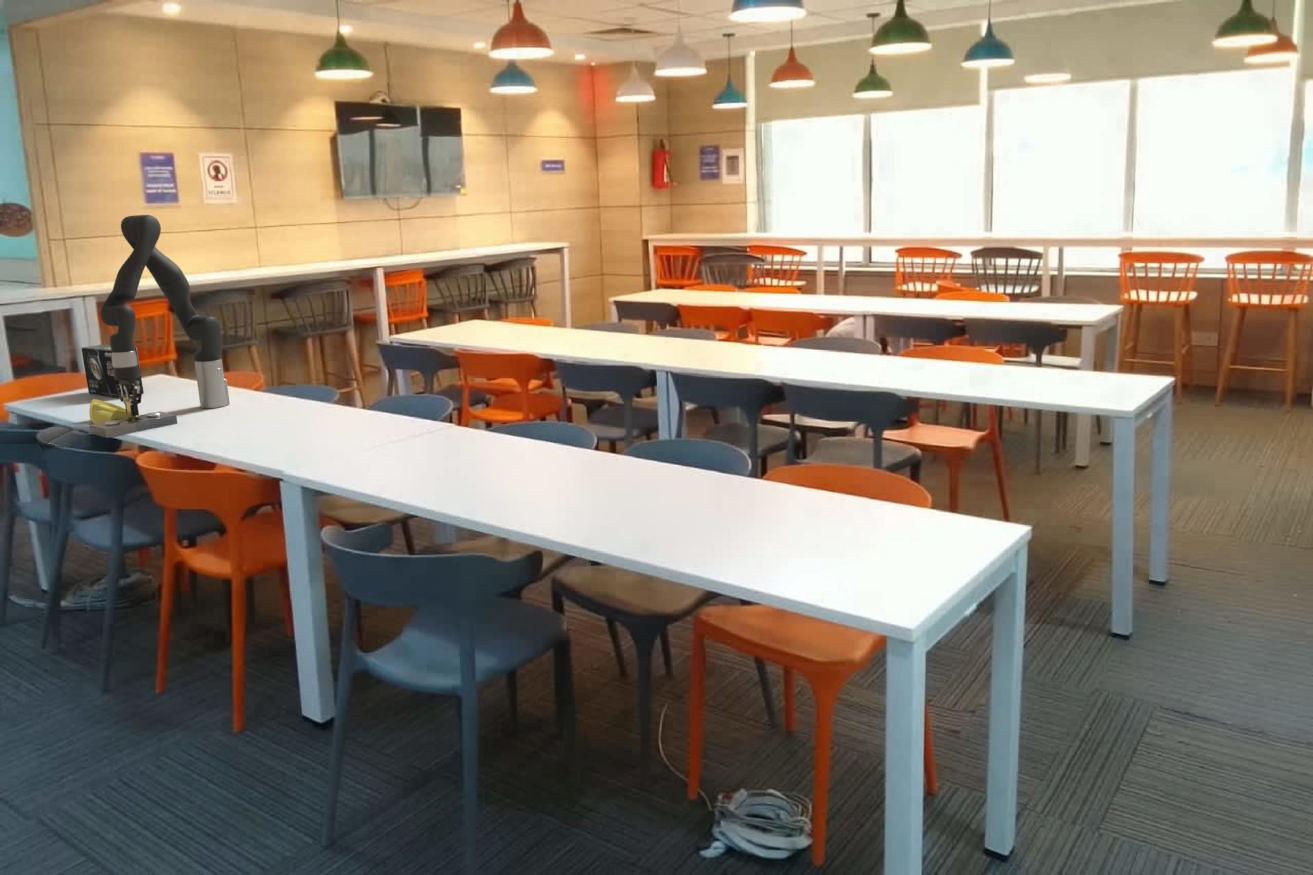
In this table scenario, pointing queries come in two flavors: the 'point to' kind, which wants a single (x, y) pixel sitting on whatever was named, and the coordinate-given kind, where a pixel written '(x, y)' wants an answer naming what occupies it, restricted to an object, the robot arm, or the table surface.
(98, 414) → the plastic component
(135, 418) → the pin
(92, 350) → the box
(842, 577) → the table surface
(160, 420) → the grey slotted plate
